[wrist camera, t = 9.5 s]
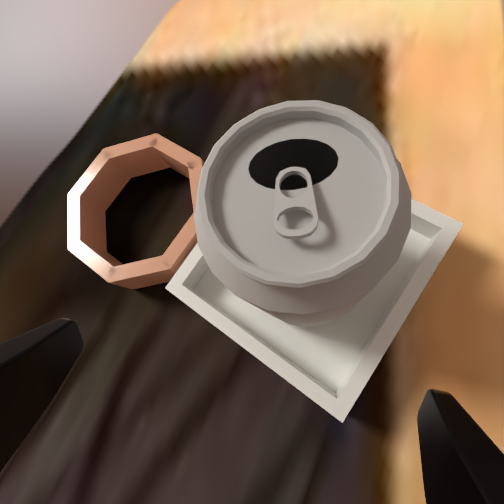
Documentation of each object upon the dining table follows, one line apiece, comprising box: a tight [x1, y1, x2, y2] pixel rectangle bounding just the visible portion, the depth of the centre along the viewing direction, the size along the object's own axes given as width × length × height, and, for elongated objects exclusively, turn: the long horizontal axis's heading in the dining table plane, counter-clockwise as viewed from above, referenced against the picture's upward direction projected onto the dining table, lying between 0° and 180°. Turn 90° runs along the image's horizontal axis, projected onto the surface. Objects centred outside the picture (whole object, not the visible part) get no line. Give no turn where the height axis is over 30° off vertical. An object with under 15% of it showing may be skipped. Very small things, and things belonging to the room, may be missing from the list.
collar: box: [67, 133, 204, 289], centre depth 24 cm, size 10×10×3 cm
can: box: [194, 100, 411, 327], centre depth 15 cm, size 8×8×12 cm
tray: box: [165, 199, 463, 423], centre depth 21 cm, size 13×13×3 cm
